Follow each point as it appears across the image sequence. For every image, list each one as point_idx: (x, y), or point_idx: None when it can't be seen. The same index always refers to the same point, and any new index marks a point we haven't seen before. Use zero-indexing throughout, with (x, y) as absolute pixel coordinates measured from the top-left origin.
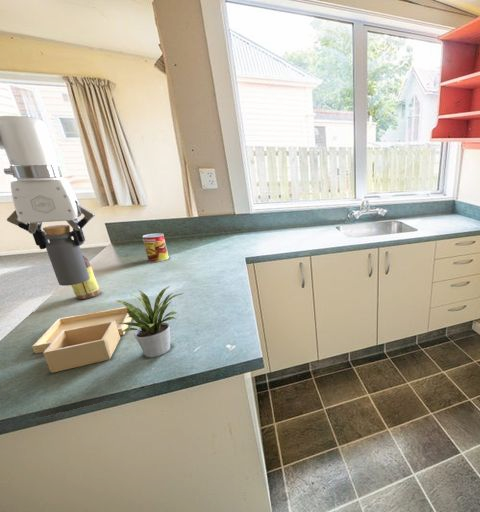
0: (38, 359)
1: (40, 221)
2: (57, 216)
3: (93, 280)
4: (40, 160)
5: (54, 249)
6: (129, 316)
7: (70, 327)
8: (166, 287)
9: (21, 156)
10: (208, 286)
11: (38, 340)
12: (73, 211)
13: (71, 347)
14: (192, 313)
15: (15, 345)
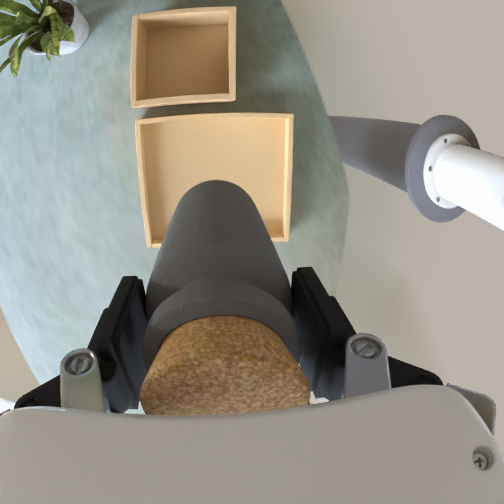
0: (274, 85)
1: (308, 406)
2: (107, 458)
3: None
4: None
5: (234, 237)
6: (66, 31)
7: (259, 203)
8: None
9: None
10: (48, 313)
11: (291, 138)
12: None
13: (189, 8)
14: (34, 179)
15: (334, 174)
